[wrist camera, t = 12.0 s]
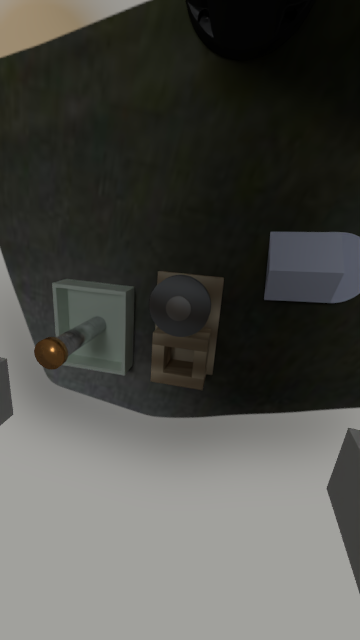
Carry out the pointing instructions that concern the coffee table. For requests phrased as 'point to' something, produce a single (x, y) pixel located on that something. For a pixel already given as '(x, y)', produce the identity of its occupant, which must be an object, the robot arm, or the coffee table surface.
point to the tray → (108, 303)
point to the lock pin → (67, 343)
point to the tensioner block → (184, 327)
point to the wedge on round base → (313, 267)
